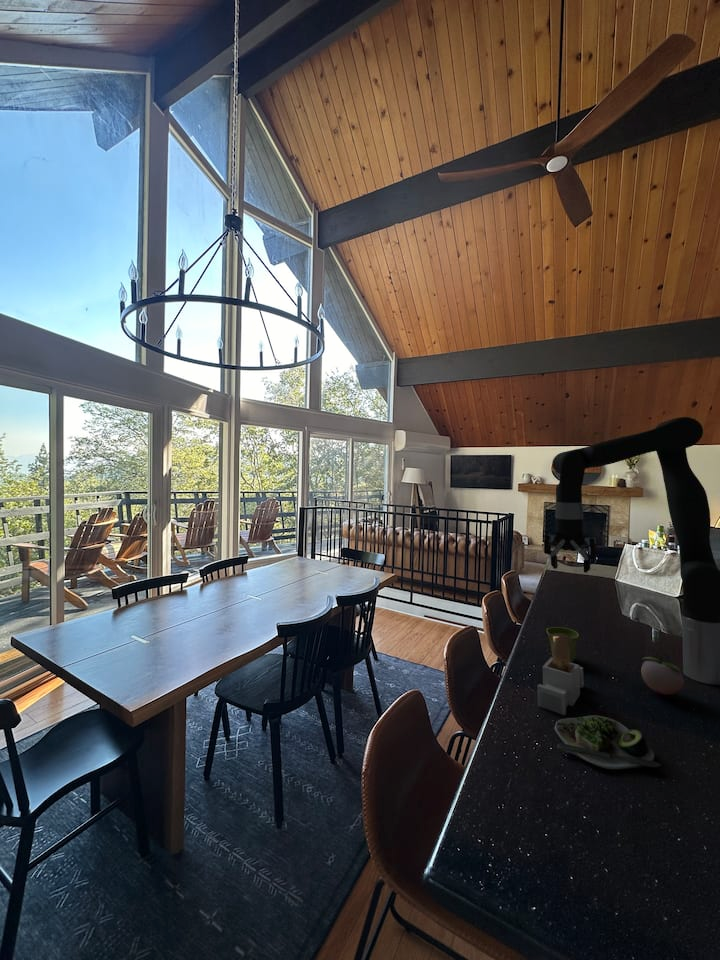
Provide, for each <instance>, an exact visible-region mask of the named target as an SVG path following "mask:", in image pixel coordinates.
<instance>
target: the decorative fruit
mask: <svg viewBox="0 0 720 960" xmlns="http://www.w3.org/2000/svg"><path fill="white" fill-rule="evenodd" d="M641 659H642V660H645V661H644V662H643V663H642V664H641V665H642V666H641V668H640V669H641V670H640V672H641V673H640V674H641V678H642V680H643V681H644V683H645V684H646V686H647V687H648V688H650V689H652V690H653V691H655V692H656V693H658V694H660V695H661V696H663V695H667V696H669V695H674V694H677V693H678V692H679V691H680V690H682V688H683V686H684V684H685V683H684V682H685V680H684V676H683V674H684V673H683V670H681V669H680V668H679V667H678V666H676V664H674V663H671V662H668V661H667V662H666V661H663V657H662V656H661V657H660V659H658V658H656V657H652V656H645V657H643V658H641Z"/></svg>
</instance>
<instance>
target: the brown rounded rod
mask: <svg viewBox="0 0 720 960" xmlns="http://www.w3.org/2000/svg"><path fill="white" fill-rule="evenodd" d="M552 639H553V656H552V658H553V669H557V670H560V671H564V672H567V673H570V663H571V662H570V657H569V636H567V635H565V634H560V633H555V634H553V635H552Z"/></svg>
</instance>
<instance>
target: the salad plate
mask: <svg viewBox="0 0 720 960" xmlns="http://www.w3.org/2000/svg"><path fill="white" fill-rule="evenodd" d="M553 729H554V732H555V733H556V734H557V736H558V738H559V739H560V741H562V742H559V743H557V748H558V750H561V751H563V752H567V753H570V754H572V755H574V756H575V757H577V758H580V759H582V760H584V761H585V762H587V763H590V764H592V765H593V766H597V767H599V768H601V769H607V770H614V771H616V770H625V769H626V770H627V769H641V768H660V767H661V766H662V764H661V763H659V762H657V761H656V760H655V757H656V756H655V752H654V750H653V749H652V747H650V745H648V744H647V742H646V741H647V740H646V738H645V736H644V734H643V733H642V732H641V731H640V730H638V729H628V727H626V726H625V725H623V724H622V723H621V722H619V721H618V720H615V719H613V718H610V717H606V716H602V715H595V714H594V715H585V716H580V717H578V716H577V717H567V718H562V719H559V720H557V721H556V723H555V726H554V727H553ZM574 730H575V731H574ZM573 731H574V734H575V735H574V736H575V738H572V736H570V735H571V733H572V732H573ZM617 734H619V735H617Z"/></svg>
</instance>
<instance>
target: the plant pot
mask: <svg viewBox="0 0 720 960" xmlns="http://www.w3.org/2000/svg"><path fill="white" fill-rule="evenodd" d="M545 632H546V634H547V635H548V638H549V643H550V649H551V656H552V657H553V639H552V635H553V634H555V633H560V634H565V635H567V636H569V657H570V663H573V662H574V661H575V655H576V653H575V652H576V646H577V645H576V644H577V641H578V638H579V637H580V634H579V633H578V632H577V631H576V630H574V629H571V628H569V627H568V628H567V627H563V626H562V627H561V626H560V627H559V626H554V627H553V626H552V627H547V628H546V631H545Z"/></svg>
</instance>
